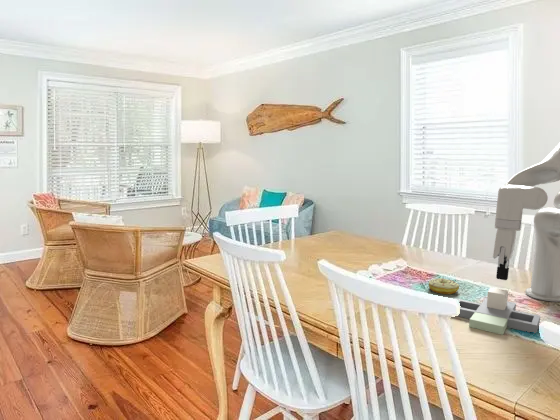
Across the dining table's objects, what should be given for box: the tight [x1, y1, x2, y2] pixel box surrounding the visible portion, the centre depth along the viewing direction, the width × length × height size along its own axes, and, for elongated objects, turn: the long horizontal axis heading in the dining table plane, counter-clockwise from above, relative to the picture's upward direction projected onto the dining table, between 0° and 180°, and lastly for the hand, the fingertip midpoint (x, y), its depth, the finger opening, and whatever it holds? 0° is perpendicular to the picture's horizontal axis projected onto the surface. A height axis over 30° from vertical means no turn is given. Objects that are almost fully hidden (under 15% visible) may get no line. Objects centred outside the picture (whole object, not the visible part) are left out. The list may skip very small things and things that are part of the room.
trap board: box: [456, 296, 541, 336], centre depth 134 cm, size 23×24×2 cm
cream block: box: [486, 287, 509, 310], centre depth 137 cm, size 5×5×5 cm
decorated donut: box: [428, 277, 460, 295], centre depth 159 cm, size 10×11×4 cm
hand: (501, 278), depth 143 cm, fingers closed
